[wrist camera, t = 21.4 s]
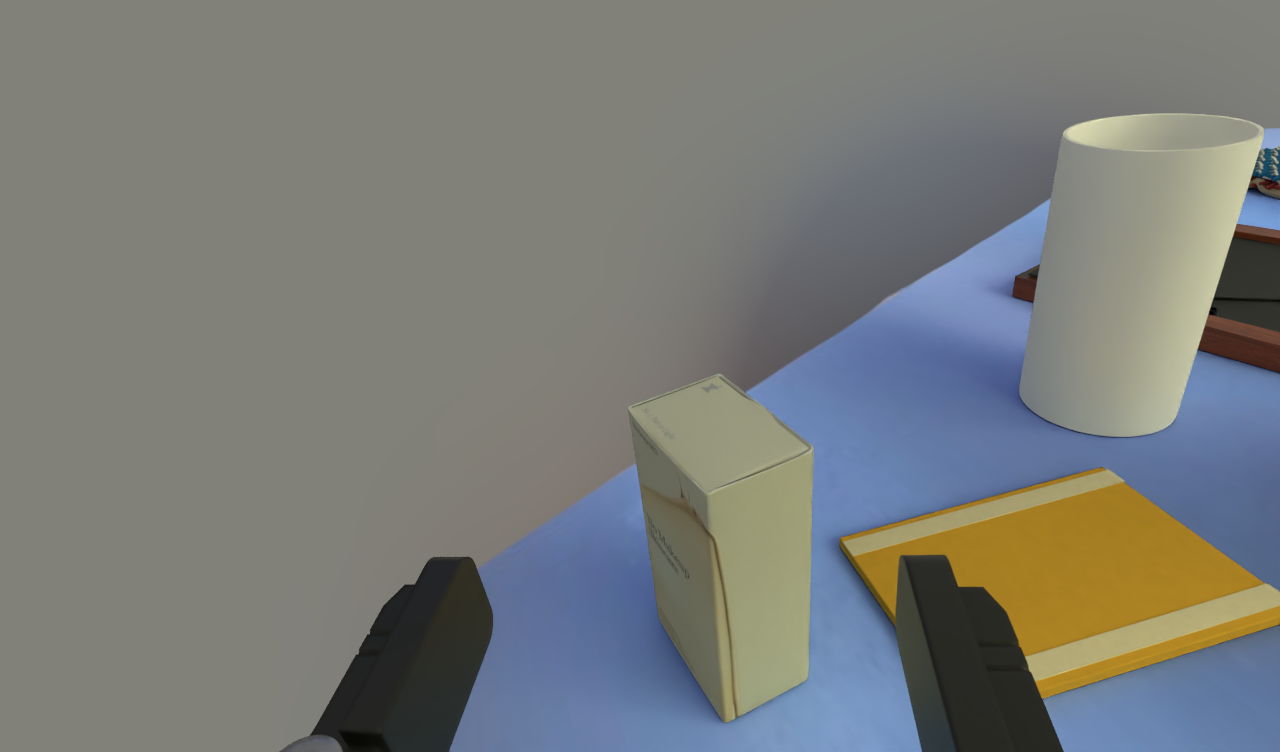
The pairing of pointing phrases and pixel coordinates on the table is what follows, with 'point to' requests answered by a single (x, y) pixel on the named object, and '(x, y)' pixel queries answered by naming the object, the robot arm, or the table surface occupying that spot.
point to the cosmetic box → (728, 538)
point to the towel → (1079, 576)
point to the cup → (1132, 266)
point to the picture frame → (1232, 299)
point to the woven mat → (1267, 172)
